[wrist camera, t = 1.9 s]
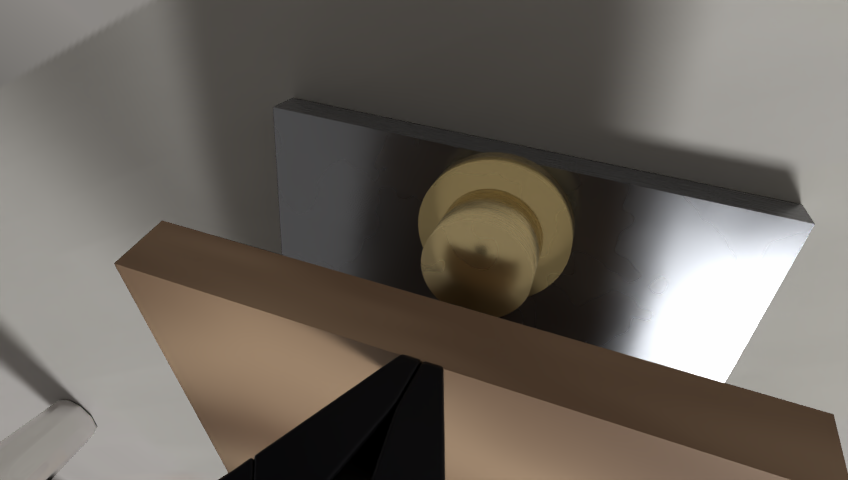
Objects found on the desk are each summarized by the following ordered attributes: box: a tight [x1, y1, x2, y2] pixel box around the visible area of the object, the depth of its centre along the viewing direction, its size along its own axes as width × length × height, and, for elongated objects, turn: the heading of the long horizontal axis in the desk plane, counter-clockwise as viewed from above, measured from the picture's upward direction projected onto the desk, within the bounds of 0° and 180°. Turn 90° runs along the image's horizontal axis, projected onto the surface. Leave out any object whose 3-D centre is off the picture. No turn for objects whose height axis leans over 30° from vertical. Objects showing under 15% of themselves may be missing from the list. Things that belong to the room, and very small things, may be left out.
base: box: [273, 98, 815, 383], centre depth 19 cm, size 16×16×4 cm
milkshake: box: [0, 400, 97, 480], centre depth 31 cm, size 4×5×10 cm
